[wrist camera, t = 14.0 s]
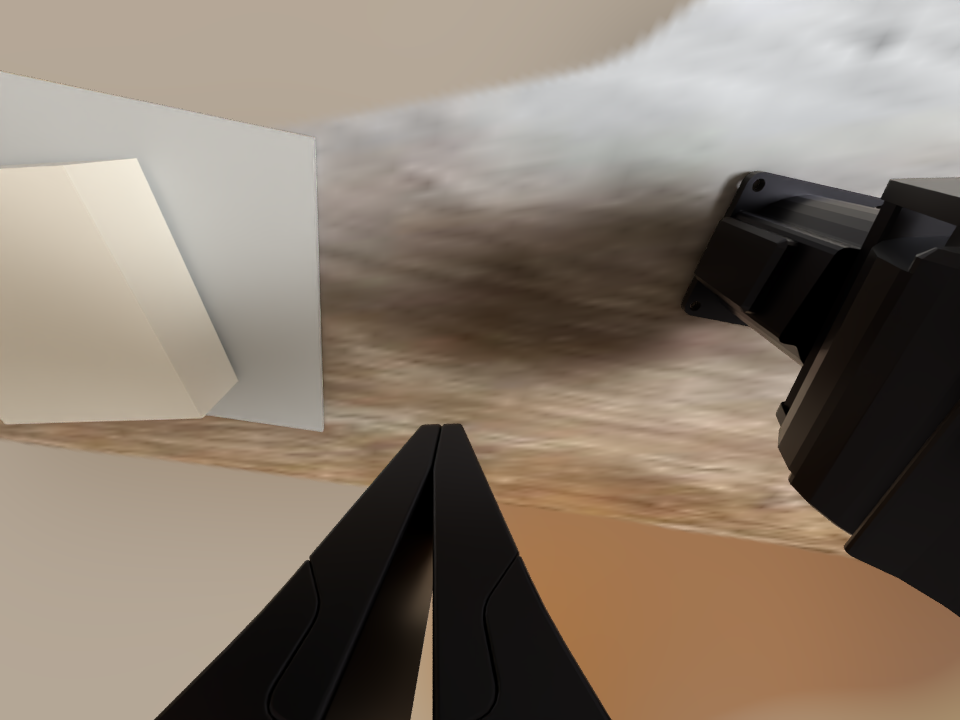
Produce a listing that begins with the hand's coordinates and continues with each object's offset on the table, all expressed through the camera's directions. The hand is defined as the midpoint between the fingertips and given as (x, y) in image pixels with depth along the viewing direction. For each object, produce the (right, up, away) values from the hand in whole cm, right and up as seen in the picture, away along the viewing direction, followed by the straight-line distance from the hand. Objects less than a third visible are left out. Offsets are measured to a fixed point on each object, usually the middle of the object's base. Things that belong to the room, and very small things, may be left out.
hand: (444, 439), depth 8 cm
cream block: (-13, +4, +9) cm, 16 cm away
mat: (-16, +6, +11) cm, 20 cm away
